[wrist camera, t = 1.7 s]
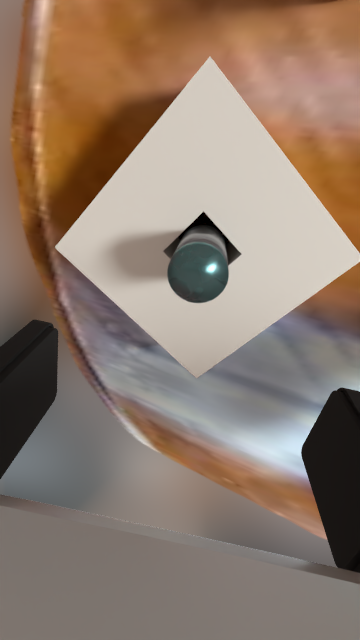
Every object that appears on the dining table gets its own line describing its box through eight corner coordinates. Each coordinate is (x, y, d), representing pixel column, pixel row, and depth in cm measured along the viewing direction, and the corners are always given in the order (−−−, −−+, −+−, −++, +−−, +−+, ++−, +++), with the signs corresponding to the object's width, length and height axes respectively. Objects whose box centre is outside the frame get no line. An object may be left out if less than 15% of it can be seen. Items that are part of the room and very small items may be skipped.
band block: (211, 86, 27) (210, 56, 20) (330, 238, 31) (363, 258, 24) (89, 231, 34) (54, 247, 26) (200, 339, 38) (196, 378, 31)
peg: (204, 214, 26) (199, 230, 19) (235, 249, 26) (241, 276, 20) (170, 247, 27) (154, 272, 20) (201, 279, 28) (196, 314, 21)
